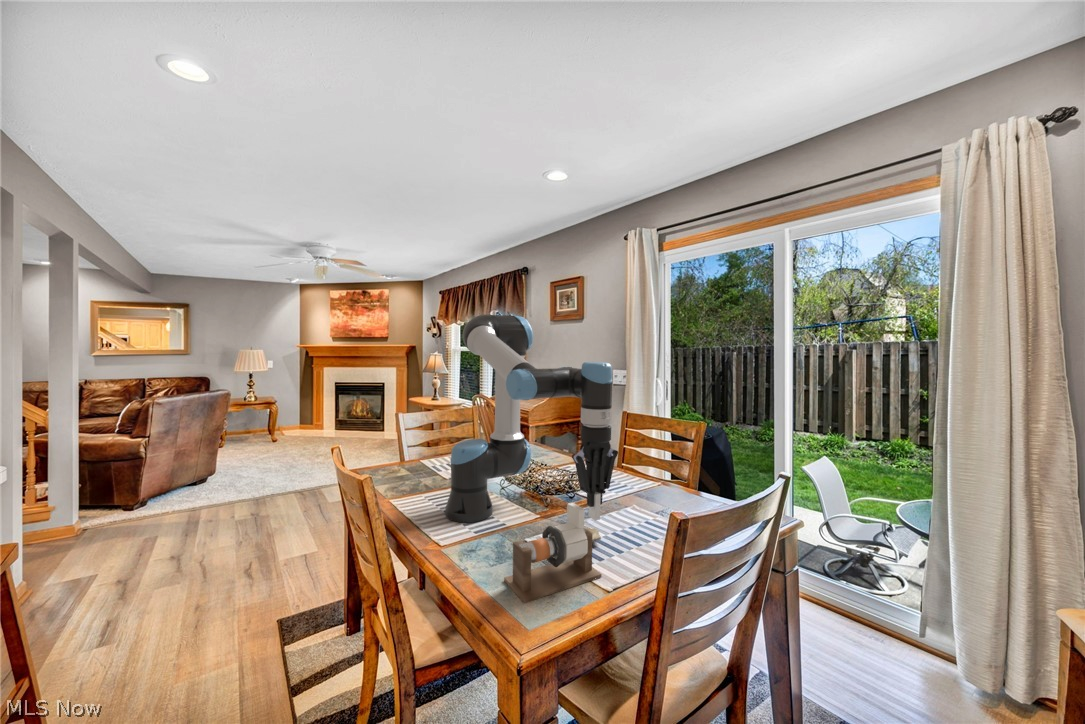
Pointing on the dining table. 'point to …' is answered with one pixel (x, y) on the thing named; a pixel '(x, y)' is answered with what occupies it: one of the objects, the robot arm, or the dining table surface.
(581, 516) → the sleeve
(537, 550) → the band
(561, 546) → the ring
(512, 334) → the robot arm
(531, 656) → the dining table surface
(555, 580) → the stand
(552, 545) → the pipe
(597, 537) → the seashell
